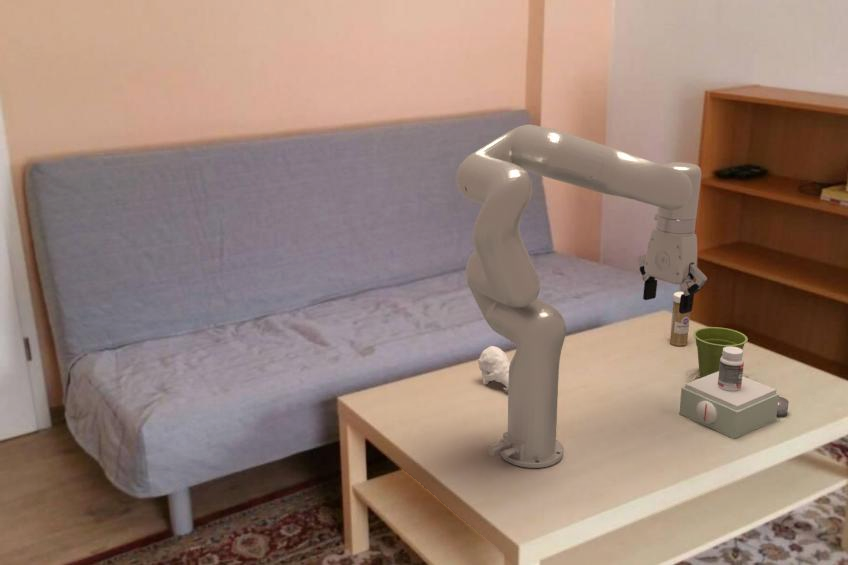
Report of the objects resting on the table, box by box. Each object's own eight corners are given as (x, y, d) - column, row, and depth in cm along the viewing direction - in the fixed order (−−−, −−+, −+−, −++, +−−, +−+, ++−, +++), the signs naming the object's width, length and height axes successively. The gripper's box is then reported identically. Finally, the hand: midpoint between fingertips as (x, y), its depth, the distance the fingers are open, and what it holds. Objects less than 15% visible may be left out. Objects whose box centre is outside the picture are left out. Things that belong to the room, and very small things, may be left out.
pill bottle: (742, 392, 184) (746, 355, 181) (718, 390, 185) (722, 353, 182) (739, 382, 188) (743, 346, 186) (716, 381, 189) (720, 344, 187)
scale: (732, 439, 179) (735, 408, 177) (677, 414, 190) (679, 384, 188) (775, 420, 187) (779, 389, 185) (720, 396, 198) (723, 367, 196)
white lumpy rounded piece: (498, 340, 208) (531, 361, 199) (495, 372, 211) (528, 394, 202) (476, 346, 204) (509, 368, 195) (474, 378, 208) (506, 402, 199)
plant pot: (753, 383, 205) (758, 337, 201) (720, 396, 198) (725, 349, 195) (711, 366, 214) (715, 322, 210) (678, 378, 207) (682, 333, 204)
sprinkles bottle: (679, 348, 224) (684, 298, 220) (665, 342, 228) (669, 293, 224) (691, 343, 227) (696, 294, 223) (677, 338, 231) (681, 289, 226)
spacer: (779, 419, 187) (780, 407, 187) (760, 412, 191) (762, 399, 190) (791, 414, 190) (792, 401, 189) (773, 406, 193) (774, 394, 192)
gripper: (630, 218, 182) (623, 296, 188) (697, 236, 169) (687, 321, 174) (656, 214, 186) (648, 291, 192) (723, 232, 173) (712, 314, 178)
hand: (666, 305), depth 183 cm, fingers open, 9 cm apart
